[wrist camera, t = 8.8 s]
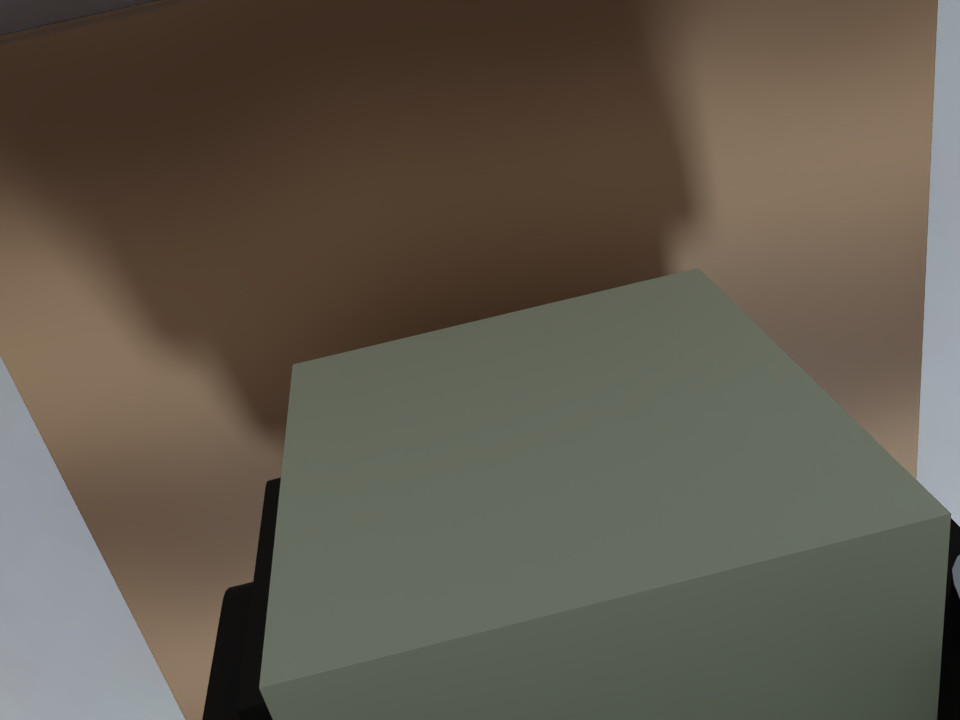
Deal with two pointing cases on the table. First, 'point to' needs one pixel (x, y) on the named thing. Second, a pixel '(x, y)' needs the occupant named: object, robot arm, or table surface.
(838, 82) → the walnut base
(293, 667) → the sage cube
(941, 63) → the table surface
